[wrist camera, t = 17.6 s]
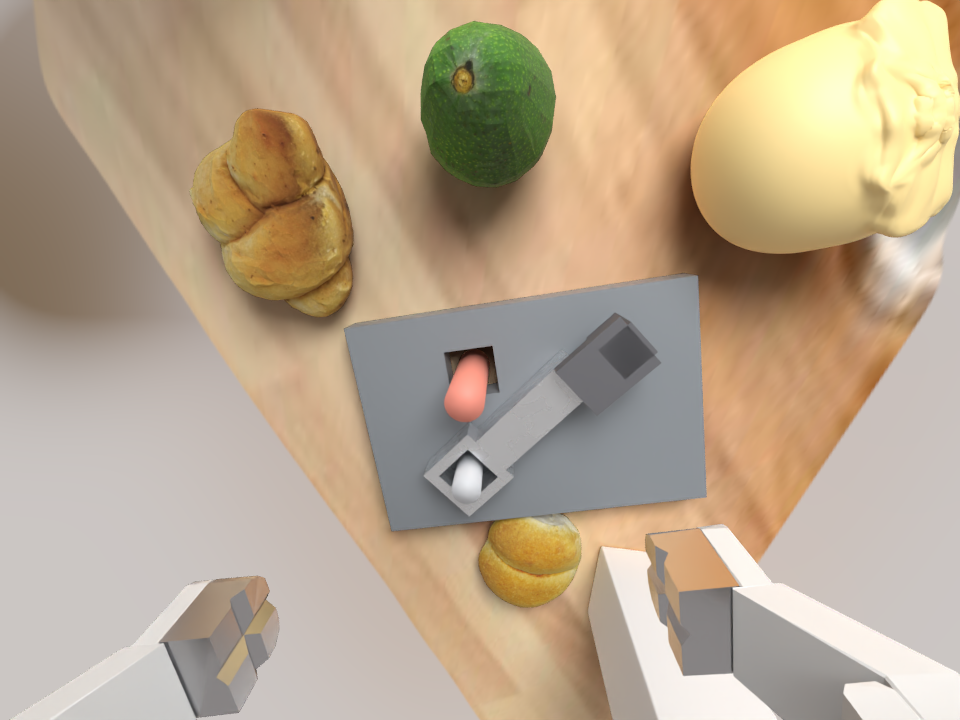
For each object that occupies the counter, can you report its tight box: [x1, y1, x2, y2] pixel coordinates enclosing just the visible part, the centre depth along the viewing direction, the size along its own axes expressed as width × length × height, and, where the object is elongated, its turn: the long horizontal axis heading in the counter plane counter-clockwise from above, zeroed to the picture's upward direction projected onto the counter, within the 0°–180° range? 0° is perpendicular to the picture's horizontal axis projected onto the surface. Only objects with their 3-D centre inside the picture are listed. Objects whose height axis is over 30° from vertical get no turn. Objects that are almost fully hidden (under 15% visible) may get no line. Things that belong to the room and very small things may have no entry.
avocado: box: [421, 21, 556, 187], centre depth 25 cm, size 8×8×12 cm
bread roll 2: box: [478, 513, 581, 608], centre depth 37 cm, size 8×9×4 cm
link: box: [424, 349, 583, 516], centre depth 32 cm, size 13×5×2 cm, turn 136°
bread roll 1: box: [189, 108, 353, 317], centre depth 29 cm, size 13×10×8 cm
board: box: [344, 273, 707, 531], centre depth 32 cm, size 17×25×7 cm
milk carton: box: [588, 546, 777, 720], centre depth 30 cm, size 7×7×19 cm
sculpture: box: [691, 0, 960, 254], centre depth 25 cm, size 12×12×11 cm
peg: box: [444, 349, 490, 422], centre depth 30 cm, size 2×2×9 cm
